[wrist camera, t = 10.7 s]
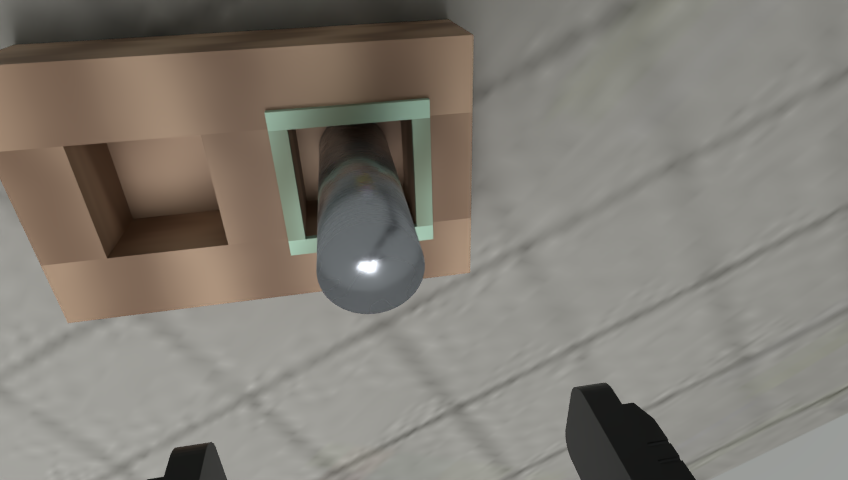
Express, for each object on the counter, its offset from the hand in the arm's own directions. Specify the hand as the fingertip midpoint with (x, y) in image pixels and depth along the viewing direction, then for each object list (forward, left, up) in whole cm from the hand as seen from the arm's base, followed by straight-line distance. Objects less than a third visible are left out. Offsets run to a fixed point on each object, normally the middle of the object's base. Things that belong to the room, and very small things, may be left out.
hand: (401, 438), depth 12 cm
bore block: (+5, 0, -20) cm, 20 cm away
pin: (0, 0, -19) cm, 19 cm away
